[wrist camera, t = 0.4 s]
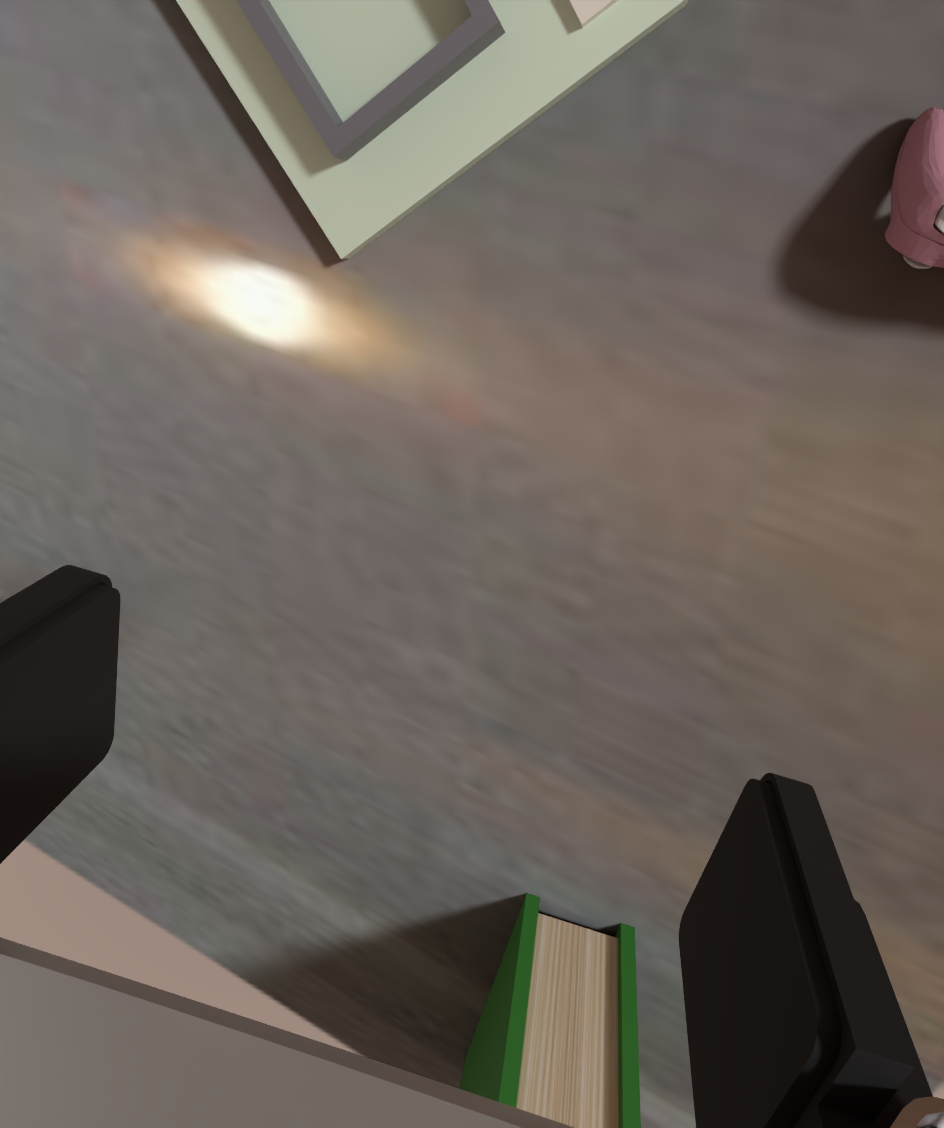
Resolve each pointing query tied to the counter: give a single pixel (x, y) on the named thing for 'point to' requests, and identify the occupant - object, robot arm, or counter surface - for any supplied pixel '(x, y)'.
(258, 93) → the socket board
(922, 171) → the video game controller
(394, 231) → the counter surface
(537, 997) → the hardback book
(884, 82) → the counter surface
